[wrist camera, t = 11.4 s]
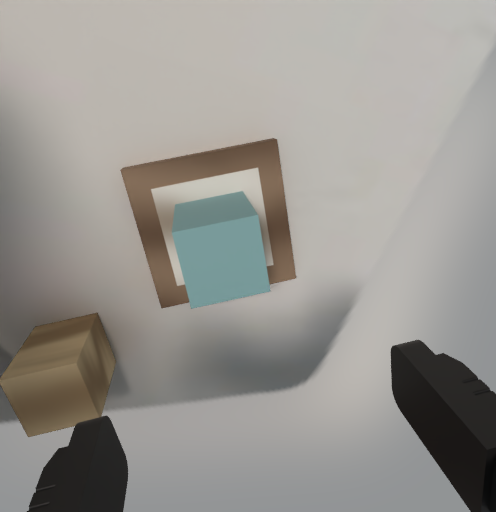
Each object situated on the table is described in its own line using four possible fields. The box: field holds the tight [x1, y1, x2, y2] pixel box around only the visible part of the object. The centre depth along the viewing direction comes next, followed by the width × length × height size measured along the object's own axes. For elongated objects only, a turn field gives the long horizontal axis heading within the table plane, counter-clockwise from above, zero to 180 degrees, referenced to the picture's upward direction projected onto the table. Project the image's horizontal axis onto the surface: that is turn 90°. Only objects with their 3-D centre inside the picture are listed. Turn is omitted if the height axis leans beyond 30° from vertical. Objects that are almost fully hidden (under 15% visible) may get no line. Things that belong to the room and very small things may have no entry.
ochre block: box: [0, 313, 116, 437], centre depth 26 cm, size 4×4×6 cm
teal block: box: [172, 191, 270, 309], centre depth 23 cm, size 4×4×6 cm
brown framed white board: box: [121, 138, 296, 308], centre depth 27 cm, size 10×10×1 cm
